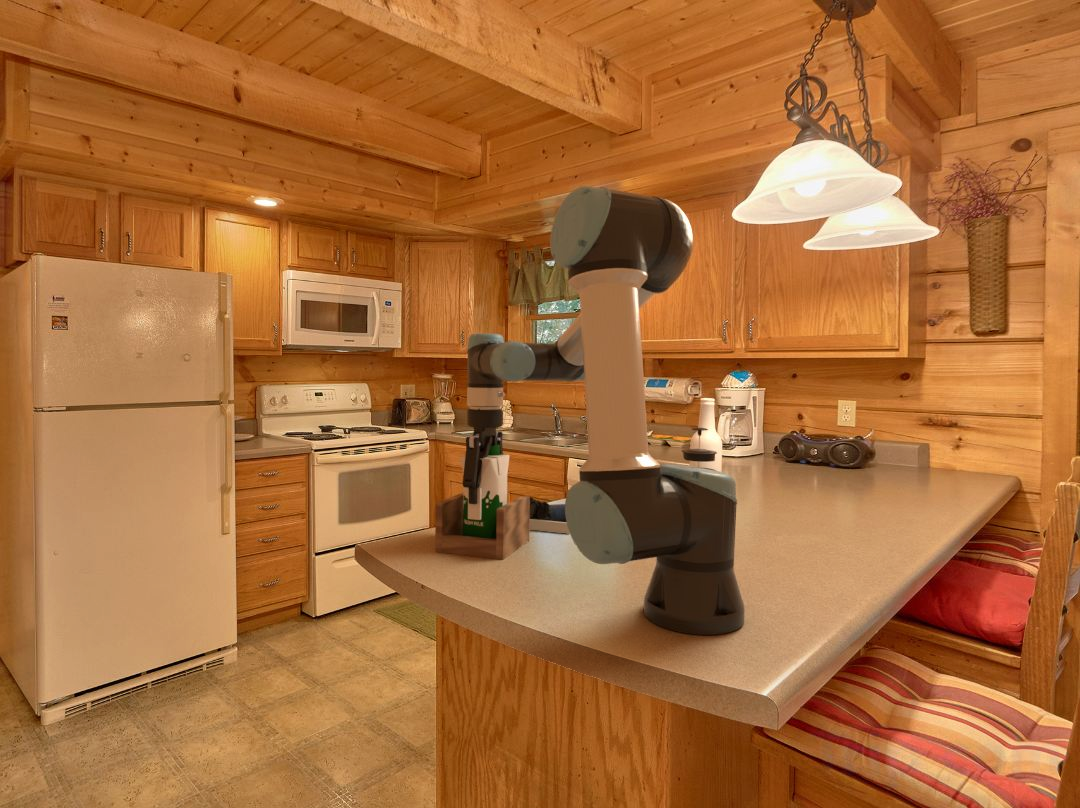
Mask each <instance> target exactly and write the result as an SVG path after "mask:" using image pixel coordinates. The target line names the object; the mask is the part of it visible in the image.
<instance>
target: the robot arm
mask: <svg viewBox="0 0 1080 808" xmlns="http://www.w3.org/2000/svg"><path fill="white" fill-rule="evenodd" d="M693 243H694V237H693V230H692V226H691V224H690V221H689V219H688V217H687V215H686V214H685V212H684V211H683V210H682V208H680V207H679V205H677V204H676V203H674V202H672V201H671V200H669V199H666V198H663V197H660V196H659V197H658V196H650V195H645V194H639V193H633V192H628V191H622V190H616V189H610V188H608V187H606V186H600V187H598V186H597V187H595V186H585V185H583V186H579V187H577V188H575V189H573V190H572V191H570V192H569V193H568V194H567V195H566V196H565V197H564V199H563V200H562V202H561V203H560V206H559V208H558V211H557V212H556V214H555V216H554V219H553V222H552V227H551V231H550V239H549V246H550V253H551V257H552V259H554V262H555V263H556V264H557V265H558V266H559V267H561V268H562V269H567V274H568V275H567V276H568V279H567V280H568V286H569V287H570V288H572V289H573V290H574V291H575V293H577V294H578V295H579V309H580V313H579V314H578V316H576V318H575V319H574V320H573V322H572V323H571V324H570V325H569V326H568V327H567V329H565V330H564V332H563V333H562V334H561V336H559V338H558V339H557V340H556V341H555V342H554V343H545V342H544V343H541V342H540V343H536V342H520V341H516V340H515V341H511V340H509V341H504V337H503V335H502V334H500V333H471V334H470V335H469V337H468V340H467V341H468V342H467V350H466V354H467V391H466V392H467V393H466V397H467V398H466V405H467V406H468V407H469V408H468V409H467V411H466V413H467V414H466V415H467V417H466V421H467V422H466V425H467V426H468V427H469V428H473V432H472V436H466V437H465V455H464V456H465V465H464V474H463V473H462V474H463V477H462V488H463V487H467V488H468V519H474V520H481V513H482V488H479V486H480V482H481V471H482V460H481V459H480V458H482V459H483V458H486V457H487V456H488V453H489V451H490V447H491V446H497V444H499V445H500V454H504V450H503V448H504V447H503V435H504V434H503V431H497V428H500V427H502V426H503V425H504V410H503V409H502V407H503V406H504V397H505V396H506V393H505V392H504V382H515V383H516V382H519V381H520V382H526V381H527V382H531V381H533V382H535V381H536V382H537V381H538V382H540V381H542V382H543V381H544V382H545V381H547V382H548V381H550V382H551V381H552V382H575V381H576V382H577V381H584V393H585V394H584V396H585V409H586V410H585V411H586V426H587V427H586V428H587V429H586V430H587V445H588V457H587V460H586V461H584V463H583V464H582V465H581V466H580V467H579V481H578V482H576V483H575V484H573V485H571V487H570V488H569V489H568V491H567V497H566V498H565V503H564V504H565V516H566V522H567V526H568V529H569V532H570V534H569V535H570V537H571V539H572V541H573V543H574V544H575V546H576V547H577V549H578V551H579V552H580V553H581V554H582V555H583V556H584V557H585V558H586V559H588V560H589V561H590V562H593V563H595V564H597V565H611V564H619V565H623V564H624V565H625V564H627V563H629V562H634V561H640V560H647V559H652V558H656V560H655V561H656V563H655V566H654V569H653V571H652V572H653V573H652V574H651V578H650V580H649V584H648V586H647V588H646V591H645V594H644V598H643V614H644V616H645V618H646V619H648V621H650V622H652V623H653V624H655V625H657V626H658V627H659V626H660V627H661V628H664V629H668V630H671V631H675V632H679V633H685V634H691V635H692V634H693V635H702V636H703V635H708V636H709V635H721V634H727V633H732V632H735V631H737V630H738V629H741V627H743V625H744V623H745V605H744V601H743V598H742V595H741V590H740V587H739V584H738V580H737V577H736V574H735V544H736V526H737V525H736V521H737V519H736V518H737V504H738V499H737V487H736V486H737V485H736V481H735V479H734V477H733V476H732V475H731V474H729V473H727V472H723V471H721V472H719V471H714V470H709V469H703V468H697V467H689V466H690V465H689V466H688V465H681V464H672V463H671V464H670V463H669V464H666V463H665V464H660V463H659V462H658V461H657V460H655V458H653V456H651V455H650V452H649V440H648V425H647V424H648V423H647V410H646V409H647V408H646V407H647V406H646V394H645V393H646V392H645V379H644V377H645V376H644V364H643V363H644V361H643V348H642V346H643V344H642V331H641V317H640V315H641V314H640V310H641V308H643V306H644V305H645V304H646V303H647V302H648V301H649V300H650V299H651V298H652V297H653V296H654V295H659V294H663V293H665V292H666V291H667V290H668V289H670V288H671V286H672V285H673V284H675V282H676V281H677V280H678V279H679V277H680V276H681V275H682V274H683V272H684V270H685V269H686V267H687V266H688V263H689V261H690V258H691V256H692V251H693V245H694V244H693Z"/></svg>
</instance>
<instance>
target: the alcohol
mask: <svg viewBox="0 0 1080 808" xmlns="http://www.w3.org/2000/svg"><path fill="white" fill-rule="evenodd" d="M699 400H700V402H699V405H700V407H699V418H698V423H697V425H698V426H697V428H706V429H708V430H702V434H701V436H700V449H706V450H711V451H716V452H717V454H715V461H710V462H699V468H709V469H714V470H716V471H719V472H723V471H722V468H723V442H722V438H721V436H720V435H719V434H718V432H717V429H716V421H715V420H716V419H715V418H716V416H715V415H716V414H715V405H716V403H715V401H716V400H715V398H710V397H704V398H703V397H701V398H700V399H699ZM689 449H699V435H698V430H696V432H694V434H693V435H692V437H691V439H690V443H689ZM689 467H698V461H689Z"/></svg>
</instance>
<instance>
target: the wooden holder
mask: <svg viewBox="0 0 1080 808" xmlns="http://www.w3.org/2000/svg"><path fill="white" fill-rule="evenodd" d="M530 497H531V495H524V494H523V495H522V496H519V497H518V498H516V499H514V500H512V501H510V502H507V504H506V505H504V506H502V507H500V508H498V509H497V528H496V539H489V538H479V537H470V536H462V525H463V492H461V493H459V494H455V495H453V496H451V497H449V498H446V499H443V500H440V501H438V502H435V531H434V532H435V537H434V538H435V539H434V540H435V548H434V549H435V550H434V551H435V553H443V554H452V555H459V556H460V555H461V556H469V557H476V558H477V557H478V558H484V557H485V558H486V559H494V560H503V561H504V560H505V559H506V558H508V557H509V556H511V555H512V554H514V553H515V552H516V551H517V550H519V549H520V548H522V547H523V546H524V545H525V543H526V542H527V541H529V542H530V530H529V515H530ZM527 543H528V542H527ZM527 543H526V544H527ZM523 544H524V545H523ZM522 545H523V546H522ZM521 546H522V547H521ZM519 547H520V548H519ZM518 548H519V549H518ZM515 550H516V551H515ZM514 551H515V552H514ZM511 553H512V554H511ZM507 556H508V557H507ZM485 558H484V559H485Z"/></svg>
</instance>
